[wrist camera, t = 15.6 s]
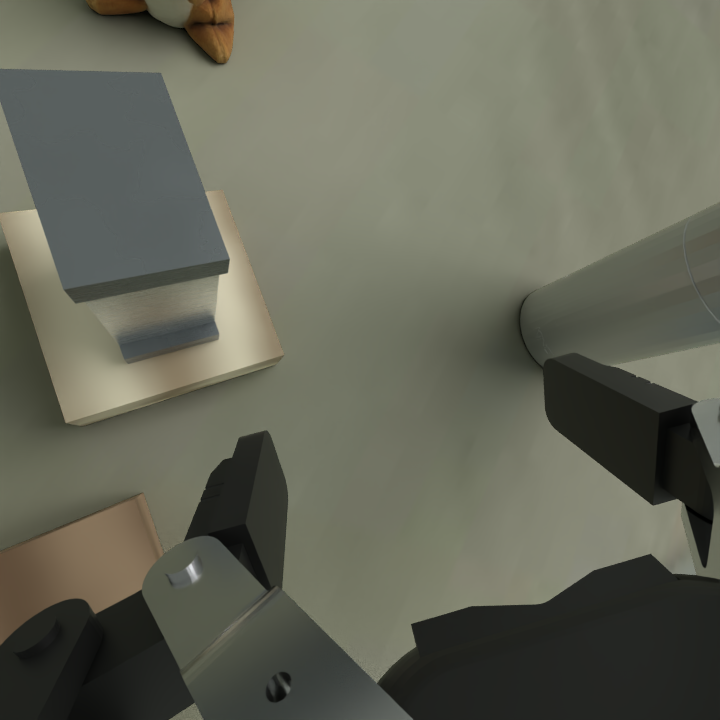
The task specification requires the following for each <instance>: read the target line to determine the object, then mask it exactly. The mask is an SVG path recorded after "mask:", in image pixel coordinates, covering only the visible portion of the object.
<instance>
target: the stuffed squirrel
mask: <svg viewBox="0 0 720 720" xmlns="http://www.w3.org/2000/svg"><path fill="white" fill-rule="evenodd" d="M86 2H87V3H88V5H89V7H90V8H91V9H93V10H95V11H96V12H97V13H99V14H102V15H116V14H128V13H137V12H142V11H145V10H147V11H148V12H149V13H150V14H151V15H152V16H153V17H154V18H156V19H157V20H160V21H162V22H163V23H166V24H168V25H170V26H173V27H177V28H185V29H186V30H187V32H188V34H189V35H190V36H191V38H192V39H193V40H194V41H195V42H196V43H197V44H198V45H199V46H200V47H202V49H203V50H204V51H206V53H207V54H208V55H210V56H211V57H212V58H213V59H214V60H215V61H216V62H218V63H226V62H227V61H228V59H229V57H230V55H231V51H232V46H233V35H234V30H233V28H234V13H233V9H232V4H231V0H86Z"/></svg>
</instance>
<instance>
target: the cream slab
mask: <svg viewBox="0 0 720 720" xmlns="http://www.w3.org/2000/svg"><path fill="white" fill-rule="evenodd" d="M205 193H206V196H207V198H208V201H209V204H210V207H211V209H212V212H213V215H214V217H215V220H216V223H217V225H218V228H219V231H220V233H221V236H222V239H223V241H224V244H225V247H226V250H227V252H228V255H229V258H230V262H229V269H228V273H226V274H221V275H219V282H218V293H217V304H216V315H215V323H216V326H217V328H218V331H219V339H218V340H215V341H211V342H207V343H204V344H200V345H196V346H193V347H189V348H185V349H182V350H178V351H174V352H171V353H167V354H163V355H160V356H156V357H153V358H149V359H145V360H142V361H138V362H134V363H131V364H128V363H127V362H126V361H125V360H124V358H123V355H122V352H121V349H120V346H119V345H118V343H117V342H116V341H115V340H114V338H113V337H112V336H111V335H110V333H109V332H108V331H107V330H106V328H105V327H104V326H103V325H102V323H101V322H100V321H99V320H98V318H97V317H96V316H95V315H94V313H93V312H92V311H91V310H90V308H89V307H88V306H87V305H86V303H85V302H82V303H77V304H75V303H74V301H73V300H72V299H71V298H70V297H69V296H68V294H67V293H66V292H65V291H64V290H63V287H62V284H61V281H60V278H59V275H58V272H57V269H56V266H55V263H54V260H53V257H52V254H51V251H50V248H49V245H48V242H47V239H46V236H45V233H44V230H43V227H42V224H41V221H40V218H39V215H38V212H37V209H34V210H25V211H15V212H5V213H0V222H1V225H2V228H3V231H4V234H5V237H6V240H7V244H8V247H9V250H10V253H11V256H12V259H13V262H14V265H15V268H16V271H17V274H18V278H19V281H20V284H21V287H22V290H23V293H24V296H25V299H26V302H27V305H28V308H29V311H30V315H31V318H32V321H33V324H34V327H35V330H36V333H37V336H38V339H39V342H40V345H41V348H42V352H43V355H44V358H45V361H46V364H47V367H48V370H49V373H50V376H51V379H52V382H53V385H54V389H55V392H56V395H57V398H58V401H59V404H60V407H61V410H62V413H63V416H64V419H65V423H68V424H73V425H78V426H85V425H89V424H92V423H95V422H98V421H101V420H104V419H107V418H110V417H113V416H117V415H120V414H123V413H126V412H129V411H132V410H135V409H138V408H142V407H145V406H148V405H151V404H154V403H157V402H160V401H163V400H167V399H170V398H173V397H176V396H179V395H182V394H185V393H188V392H192V391H195V390H198V389H201V388H204V387H207V386H210V385H213V384H216V383H220V382H223V381H226V380H229V379H232V378H235V377H238V376H241V375H245V374H248V373H251V372H254V371H257V370H260V369H263V368H266V367H270V366H273V365H276V364H277V363H278V362H279V361H280V359H281V358H282V357H283V356H284V353H283V350H282V347H281V345H280V342H279V339H278V337H277V334H276V331H275V329H274V326H273V323H272V320H271V318H270V315H269V312H268V310H267V307H266V304H265V302H264V299H263V296H262V294H261V291H260V288H259V286H258V283H257V280H256V278H255V275H254V272H253V270H252V267H251V264H250V262H249V259H248V256H247V254H246V251H245V248H244V246H243V243H242V240H241V238H240V235H239V232H238V230H237V227H236V224H235V222H234V219H233V216H232V214H231V211H230V208H229V206H228V203H227V200H226V198H225V195H224V192H223V190H216V191H207V192H205Z"/></svg>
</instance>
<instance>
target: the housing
mask: <svg viewBox="0 0 720 720" xmlns="http://www.w3.org/2000/svg"><path fill="white" fill-rule="evenodd" d="M0 102H1V105H2V108H3V111H4V114H5V117H6V120H7V123H8V126H9V129H10V132H11V135H12V138H13V141H14V144H15V147H16V150H17V153H18V156H19V159H20V162H21V165H22V168H23V171H24V174H25V177H26V180H27V183H28V186H29V189H30V192H31V195H32V198H33V201H34V204H35V207H36V209H37V212H38V215H39V218H40V221H41V224H42V227H43V230H44V233H45V236H46V239H47V242H48V245H49V248H50V251H51V254H52V257H53V260H54V263H55V266H56V269H57V272H58V275H59V278H60V281H61V284H62V287H63V290H64V291H65V292H66V293H67V294H68V296H69V297H70V298H71V299H72V300H73V301H74V303H75V304H77V303H82V302H85V303H86V305H87V306H88V307H89V308H90V310H91V311H92V312H93V313H94V315H95V316H96V317H97V318H98V320H99V321H100V322H101V323H102V325H103V326H104V327H105V328H106V330H107V331H108V332H109V333H110V335H111V336H112V337H113V338H114V340H115V341H116V342H117V343H118V345H119V346H120V349H121V352H122V355H123V358H124V360H125V361H126V362H127V363H128V364H131V363H134V362H138V361H142V360H145V359H149V358H153V357H156V356H160V355H163V354H167V353H171V352H174V351H178V350H182V349H185V348H189V347H193V346H196V345H200V344H204V343H207V342H211V341H215V340H218V339H219V331H218V328H217V326H216V323H215V315H216V304H217V293H218V282H219V275H221V274H226V273H228V269H229V262H230V258H229V255H228V252H227V250H226V247H225V244H224V241H223V239H222V236H221V233H220V231H219V228H218V225H217V223H216V220H215V217H214V215H213V212H212V209H211V207H210V204H209V201H208V198H207V196H206V193H205V190H204V188H203V185H202V182H201V180H200V177H199V174H198V172H197V169H196V166H195V163H194V161H193V158H192V155H191V153H190V150H189V147H188V145H187V142H186V139H185V137H184V134H183V131H182V129H181V126H180V123H179V120H178V118H177V115H176V112H175V110H174V107H173V104H172V102H171V99H170V96H169V94H168V91H167V88H166V85H165V83H164V80H163V77H162V75H161V73H143V72H102V71H62V70H22V69H0Z"/></svg>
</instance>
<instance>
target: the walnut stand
mask: <svg viewBox="0 0 720 720" xmlns="http://www.w3.org/2000/svg"><path fill="white" fill-rule="evenodd" d="M162 555H164V553H163V550H162V547H161V544H160V541H159V538H158V535H157V532H156V529H155V526H154V523H153V520H152V517H151V514H150V511H149V508H148V505H147V502H146V499H145V496H144V493H141V494H139V495H136V496H134V497H131V498H129V499H126V500H124V501H121V502H119V503H117V504H114V505H112V506H109V507H107V508H104V509H102V510H99V511H97V512H95V513H92V514H90V515H87V516H85V517H82V518H80V519H77V520H75V521H73V522H70V523H68V524H65V525H63V526H60V527H58V528H55V529H53V530H51V531H48V532H46V533H43V534H41V535H38V536H36V537H33V538H31V539H29V540H26V541H24V542H21V543H19V544H16V545H14V546H11V547H9V548H7V549H4V550H2V551H0V645H1V644H2V643H3V642H4V641H5V640H6V639H7V638H8V637H9V636H10V635H11V634H12V633H13V632H14V631H15V630H16V629H18V628H19V627H20V626H21V625H22V624H23V623H25V622H26V621H27V620H29V619H30V618H31V617H33V616H34V615H36V614H37V613H39V612H41V611H42V610H44V609H46V608H48V607H50V606H52V605H54V604H56V603H59V602H61V601H64V600H68V599H75V598H78V599H83V600H85V601H86V602H87V603H88V604H89V605H90V607H91V609H92V610H93V612H94V613H95V614H96V613H98V612H100V611H102V610H104V609H106V608H108V607H110V606H112V605H114V604H115V603H117V602H119V601H121V600H123V599H125V598H127V597H129V596H131V595H133V594H135V593H136V592H138V591H140V590H142V585H143V581H144V579H145V576H146V575H147V573H148V571H149V570H150V568H151V567H152V566H153V564H154V563H155V562H156V561H157V560H158V559H159V558H160V557H161V556H162Z"/></svg>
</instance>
